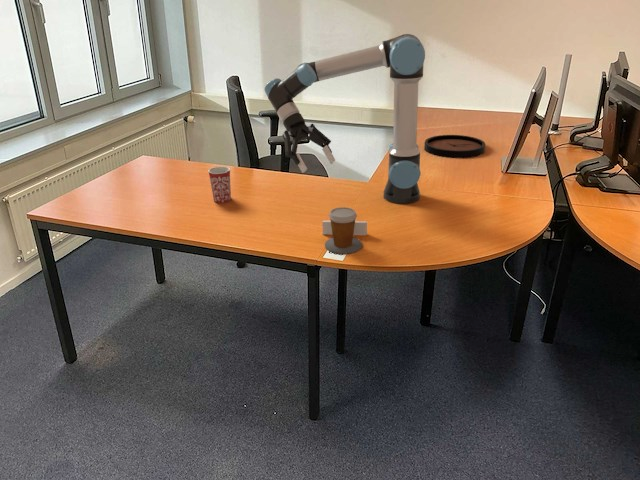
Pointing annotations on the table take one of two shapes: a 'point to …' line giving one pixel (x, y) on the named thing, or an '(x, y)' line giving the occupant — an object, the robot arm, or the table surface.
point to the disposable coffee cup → (342, 226)
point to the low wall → (359, 228)
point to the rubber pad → (348, 250)
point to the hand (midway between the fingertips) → (319, 166)
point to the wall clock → (454, 146)
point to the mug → (220, 183)
